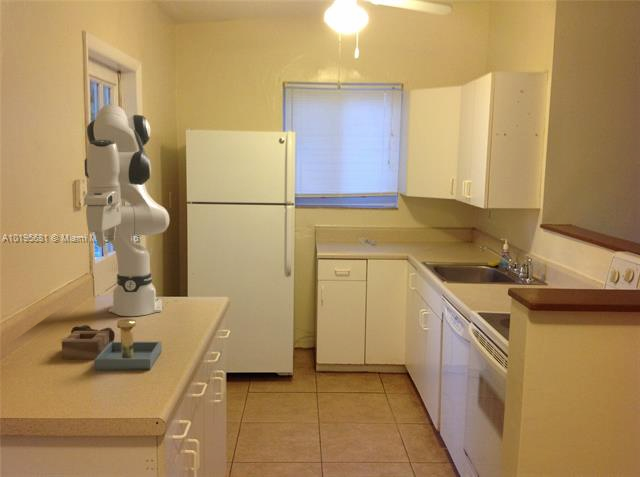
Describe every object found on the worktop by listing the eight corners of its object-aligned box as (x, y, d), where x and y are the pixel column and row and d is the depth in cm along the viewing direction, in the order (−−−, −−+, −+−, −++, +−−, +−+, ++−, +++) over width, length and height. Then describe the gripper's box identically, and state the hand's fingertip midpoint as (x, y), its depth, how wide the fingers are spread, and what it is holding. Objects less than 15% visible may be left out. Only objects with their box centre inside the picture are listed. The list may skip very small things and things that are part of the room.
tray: (111, 351, 168) (110, 341, 168) (161, 351, 169) (161, 341, 169) (94, 370, 154) (94, 359, 153) (150, 369, 155) (150, 359, 154)
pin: (121, 357, 162) (119, 319, 160) (138, 357, 162) (137, 319, 160) (116, 363, 157) (114, 324, 155) (134, 363, 157) (133, 324, 156)
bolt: (77, 342, 182) (110, 348, 175) (64, 338, 178) (98, 344, 171) (84, 324, 184) (117, 330, 177) (71, 320, 180) (105, 325, 173)
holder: (75, 347, 171) (74, 331, 171) (109, 346, 172) (108, 330, 171) (62, 358, 162) (61, 341, 161) (98, 358, 162) (98, 341, 162)
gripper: (104, 194, 177) (106, 238, 179) (81, 199, 156) (83, 249, 158) (125, 194, 177) (126, 238, 179) (105, 199, 157) (107, 249, 159)
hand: (106, 243), depth 169 cm, fingers open, 8 cm apart
